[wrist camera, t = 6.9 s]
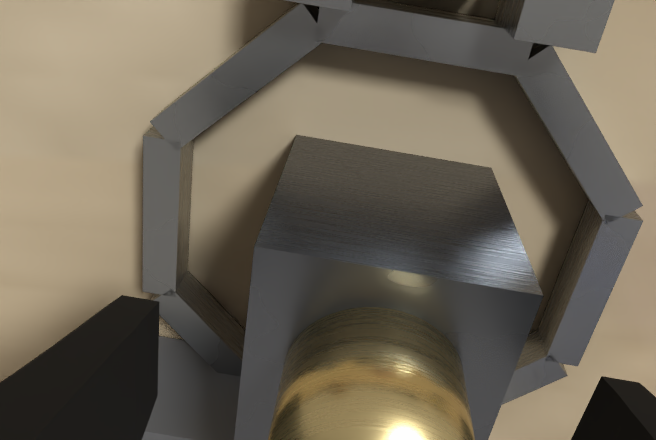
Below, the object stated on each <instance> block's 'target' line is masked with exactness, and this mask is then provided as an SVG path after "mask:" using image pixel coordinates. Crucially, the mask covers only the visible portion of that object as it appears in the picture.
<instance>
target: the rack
mask: <svg viewBox="0 0 656 440" xmlns="http://www.w3.org/2000/svg"><path fill="white" fill-rule="evenodd" d="M240 378H241V377H239V376H234V375H228V374H222V373H217V372H216V371H215V370H214V369H213V368H212V367H211V366H210V365H209V364H208V363H207V362H206V361H205V360H204V359H203V358H202V357H201V356H200V355H199V354H198V353H197V352H196V351H195V350H194V349H193V348H192V347H191V346H190V345H189V344H188V343H187V342H186V341H185V340H180V339H174V338H168V337H162V336H159V348H158V396H157V399H156V402H155V404H154V407H153V410H152V413H151V416H150V419H149V421H148V424H147V427H146V430H145V432H144V435H143V438H142V440H234V436H235V426H236V417H237V407H238V398H239V388H240Z"/></svg>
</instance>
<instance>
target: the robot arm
mask: <svg viewBox="0 0 656 440" xmlns="http://www.w3.org/2000/svg"><path fill="white" fill-rule="evenodd" d="M158 348H159V301H153V300H147V299H141V298H135V297H129V296H123V295H122V296H121V297H119V298H118V299H116V300H115V301H113V302H112V303H110V304H109V305H108V306H106V307H105V308H103V309H102V310H101V311H99V312H98V313H97V314H95V315H94V316H93V317H91V318H90V319H89V320H87V321H86V322H85V323H83V324H82V325H81V326H79V327H78V328H77V329H75V330H74V331H72V332H71V333H70V334H68V335H67V336H66V337H64V338H63V339H62V340H60V341H59V342H57V343H56V344H55V345H53V346H52V347H51V348H49V349H48V350H46V351H45V352H43V353H42V354H41V355H39V356H38V357H36V358H35V359H34V360H32V361H31V362H29V363H28V364H26V365H25V366H24V367H22V368H21V369H19V370H18V371H16V372H15V373H14V374H12V375H11V376H9V377H8V378H6V379H5V380H3V381H2V382H0V440H142V438H143V435H144V432H145V430H146V427H147V424H148V421H149V419H150V416H151V413H152V410H153V407H154V404H155V402H156V399H157V396H158ZM571 440H656V397H655V396H654V395H653V394H651V393H650V392H649V391H648V390H647V389H646V388H645V387H643V386H642V385H641V384H640V383H638V382H632V381H626V380H620V379H614V378H608V377H601V379H600V381H599V383H598V385H597V387H596V389H595V391H594V393H593V395H592V397H591V399H590V401H589V404H588V406H587V408H586V410H585V412H584V414H583V416H582V418H581V420H580V422H579V424H578V426H577V428H576V431H575V433H574V435H573V437H572V439H571Z"/></svg>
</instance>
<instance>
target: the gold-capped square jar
mask: <svg viewBox="0 0 656 440" xmlns="http://www.w3.org/2000/svg"><path fill="white" fill-rule="evenodd" d="M542 298H543V293H542V291H541V288H540V286H539V283H538V281H537V279H536V276H535V274H534V271H533V269H532V266H531V264H530V261H529V259H528V257H527V254H526V252H525V249H524V247H523V244H522V242H521V239H520V237H519V234H518V232H517V230H516V227H515V225H514V222H513V220H512V217H511V215H510V212H509V210H508V208H507V205H506V203H505V200H504V198H503V195H502V193H501V190H500V188H499V186H498V183H497V181H496V178H495V176H494V173H493V171H492V168H489V167H483V166H477V165H471V164H466V163H460V162H454V161H448V160H442V159H436V158H430V157H424V156H418V155H413V154H407V153H401V152H395V151H389V150H383V149H377V148H371V147H365V146H359V145H354V144H348V143H342V142H336V141H330V140H324V139H318V138H312V137H306V136H300V135H296V138H295V140H294V143H293V146H292V148H291V151H290V154H289V156H288V159H287V162H286V164H285V167H284V169H283V172H282V175H281V177H280V180H279V183H278V185H277V188H276V191H275V193H274V196H273V198H272V201H271V204H270V206H269V209H268V212H267V214H266V217H265V220H264V222H263V225H262V228H261V230H260V233H259V235H258V238H257V241H256V243H255V246H254V254H253V264H252V273H251V283H250V293H249V302H248V312H247V321H246V331H245V340H244V350H243V359H242V369H241V378H240V388H239V398H238V407H237V417H236V426H235V436H234V440H488V438H489V436H490V433H491V430H492V428H493V425H494V423H495V420H496V417H497V415H498V412H499V410H500V407H501V404H502V402H503V399H504V397H505V394H506V392H507V389H508V386H509V384H510V381H511V379H512V376H513V373H514V371H515V368H516V366H517V363H518V360H519V358H520V355H521V353H522V350H523V347H524V345H525V342H526V340H527V337H528V334H529V332H530V329H531V327H532V324H533V322H534V319H535V316H536V314H537V311H538V309H539V306H540V303H541V301H542Z"/></svg>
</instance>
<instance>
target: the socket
mask: <svg viewBox="0 0 656 440" xmlns="http://www.w3.org/2000/svg"><path fill="white" fill-rule="evenodd" d="M285 1H291V2H297V4H296V5H295V6H294V7H292V8H291V9H290V10H289V11H287V12H286V13H285V14H284V15H282V16H281V17H280V18H278V19H277V20H276V21H275V22H273V23H272V24H271V25H270V26H268V27H267V28H266V29H264V30H263V31H262V32H261V33H259V34H258V35H257V36H256V37H254V38H253V39H252V40H250V41H249V42H248V43H247V44H245V45H244V46H243V47H242V48H240V49H239V50H238V51H236V52H235V53H234V54H233V55H231V56H230V57H229V58H228V59H226V60H225V61H224V62H222V63H221V64H220V65H219V66H217V67H216V68H215V69H214V70H212V71H211V72H210V73H209V74H207V75H206V76H205V77H203V78H202V79H201V80H200V81H198V82H197V83H196V84H195V85H193V86H192V87H191V88H189V89H188V90H187V91H186V92H184V93H183V94H182V95H181V96H179V97H178V98H177V99H175V100H174V101H173V102H172V103H170V104H169V105H168V106H167V107H165V108H164V109H163V110H162V111H161V112H160V113H159V114H158V115H157V116H156V117H154V118H153V119H152V120H151V121H150V122H151V124H152V125H153V127H152V128H151V129H150V130H149V131H148V132H147V133H146V134H145V135H144V136H143V292H148V293H154V295H153V296H152V298H151V300H153V301H159V315H160V316H161V317H162V318H163V319H164V320H165V321H166V322H167V323H168V324H169V325H170V326H171V327H172V328H173V329H174V330H175V331H176V332H177V333H178V334H179V335H180V336H181V337H182V338H183V339H184V340H185V341H186V342H187V343H188V344H189V345H190V346H191V347H192V348H193V349H194V350H195V351H196V352H197V353H198V354H199V355H200V356H201V357H202V358H203V359H204V360H205V361H206V362H207V363H208V364H209V365H210V366H211V367H212V368H213V369H214V370H215V371H216V372H217V373H222V374H228V375H234V376H239V377H241V369H242V359H243V350H244V340H245V330H244V329H243V328H242V327H241V326H240V325H239V324H238V323H237V322H236V321H235V320H234V319H233V318H232V317H231V316H230V315H229V314H228V312H227V311H226V310H225V309H224V308H223V307H222V306H221V305H220V304H219V303H218V302H217V301H216V300H215V299H214V298H213V297H212V296H211V295H210V293H209V292H208V291H207V290H206V289H205V288H204V287H203V286H202V285H201V284H200V283H199V282H198V281H197V280H196V279H195V278H194V277H193V275H192V274H191V273H190V272H189V271H188V250H189V228H190V206H191V184H192V162H193V141H194V138H195V137H196V136H198V135H199V134H200V133H202V132H203V131H204V130H206V129H207V128H208V127H210V126H211V125H212V124H214V123H215V122H216V121H218V120H219V119H220V118H222V117H223V116H224V115H226V114H227V113H228V112H230V111H231V110H232V109H234V108H235V107H236V106H238V105H239V104H241V103H242V102H243V101H245V100H246V99H247V98H249V97H250V96H251V95H253V94H254V93H255V92H257V91H258V90H259V89H261V88H262V87H263V86H265V85H266V84H267V83H269V82H270V81H271V80H273V79H274V78H275V77H277V76H278V75H279V74H281V73H282V72H283V71H285V70H286V69H287V68H289V67H290V66H291V65H293V64H294V63H295V62H297V61H298V60H299V59H301V58H302V57H303V56H305V55H306V54H308V53H309V52H310V51H312V50H313V49H314V48H316V47H317V46H318V45H320V44H321V43H326V44H332V45H338V46H344V47H350V48H356V49H362V50H367V51H373V52H379V53H385V54H391V55H397V56H403V57H409V58H415V59H421V60H426V61H432V62H438V63H444V64H450V65H456V66H462V67H468V68H474V69H479V70H485V71H491V72H497V73H503V74H509V75H514V77H515V79H516V80H517V82H518V84H519V85H520V87H521V89H522V90H523V92H524V94H525V95H526V97H527V98H528V100H529V102H530V103H531V105H532V107H533V108H534V110H535V112H536V113H537V115H538V117H539V118H540V120H541V122H542V123H543V125H544V127H545V128H546V130H547V132H548V133H549V135H550V137H551V138H552V140H553V141H554V143H555V145H556V146H557V148H558V150H559V151H560V153H561V155H562V156H563V158H564V160H565V161H566V163H567V165H568V166H569V168H570V170H571V171H572V173H573V175H574V176H575V178H576V179H577V181H578V183H579V184H580V186H581V188H582V189H583V191H584V193H585V194H586V196H587V198H588V199H589V200H588V203H587V205H586V208H585V210H584V213H583V215H582V218H581V220H580V223H579V226H578V228H577V231H576V233H575V236H574V238H573V241H572V243H571V246H570V248H569V251H568V253H567V256H566V259H565V261H564V264H563V266H562V269H561V271H560V274H559V276H558V279H557V281H556V284H555V287H554V289H553V292H552V294H551V297H550V299H549V302H548V304H547V307H546V309H545V312H544V315H543V317H542V320H541V322H540V325H539V327H538V330H537V331H535V332H532V333H530V334H528V337H527V340H526V342H525V345H524V347H523V350H522V353H521V355H520V358H519V360H518V363H517V366H516V368H515V371H514V373H513V376H512V379H511V381H510V384H509V386H508V389H507V392H506V394H505V397H504V399H503V402H502V404H504V403H507V402H509V401H511V400H513V399H516V398H518V397H520V396H523V395H525V394H527V393H529V392H532V391H534V390H536V389H538V388H541V387H543V386H545V385H548V384H550V383H552V382H554V381H557V380H559V379H561V378H563V377H566V376H567V373H566V370H565V368H564V365H563V364H568V365H574V366H578V365H579V363H580V360H581V358H582V356H583V354H584V351H585V349H586V347H587V345H588V343H589V340H590V338H591V336H592V334H593V331H594V329H595V327H596V325H597V323H598V320H599V318H600V316H601V314H602V311H603V309H604V307H605V305H606V302H607V300H608V298H609V296H610V294H611V291H612V289H613V287H614V285H615V282H616V280H617V278H618V276H619V274H620V271H621V269H622V267H623V265H624V262H625V260H626V258H627V256H628V254H629V251H630V249H631V247H632V245H633V242H634V240H635V238H636V236H637V234H638V231H639V229H640V227H641V225H642V222H643V220H642V219H641V218H640V217H639V215H638V214H637V213H636V212H635V210H636V209H638V208H639V207H641V206H643V205H642V203H641V202H640V200H639V198H638V196H637V195H636V193H635V191H634V189H633V188H632V186H631V184H630V182H629V180H628V179H627V177H626V175H625V173H624V172H623V170H622V168H621V166H620V165H619V163H618V161H617V159H616V158H615V156H614V154H613V152H612V151H611V149H610V147H609V145H608V144H607V142H606V140H605V138H604V136H603V135H602V133H601V131H600V129H599V128H598V126H597V124H596V122H595V121H594V119H593V117H592V115H591V114H590V112H589V110H588V108H587V107H586V105H585V103H584V101H583V99H582V98H581V96H580V94H579V92H578V91H577V89H576V87H575V85H574V84H573V82H572V80H571V78H570V77H569V75H568V73H567V71H566V70H565V68H564V66H563V64H562V63H561V61H560V59H559V57H558V55H557V54H556V52H555V50H554V48H553V47H552V46H557V47H563V48H569V49H575V50H580V51H586V52H592V53H596V51H597V48H598V45H599V42H600V40H601V37H602V34H603V31H604V28H605V26H606V23H607V20H608V17H609V14H610V11H611V9H612V6H613V3H614V0H500V1H499V5H498V9H497V13H496V16H495V19H489V18H483V17H477V16H472V15H466V14H460V13H454V12H448V11H442V10H436V9H430V8H424V7H418V6H412V5H407V4H401V3H395V2H389V1H383V0H285ZM316 6H320V7H319V10H318V9H317V7H316ZM502 404H501V405H502Z"/></svg>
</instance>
